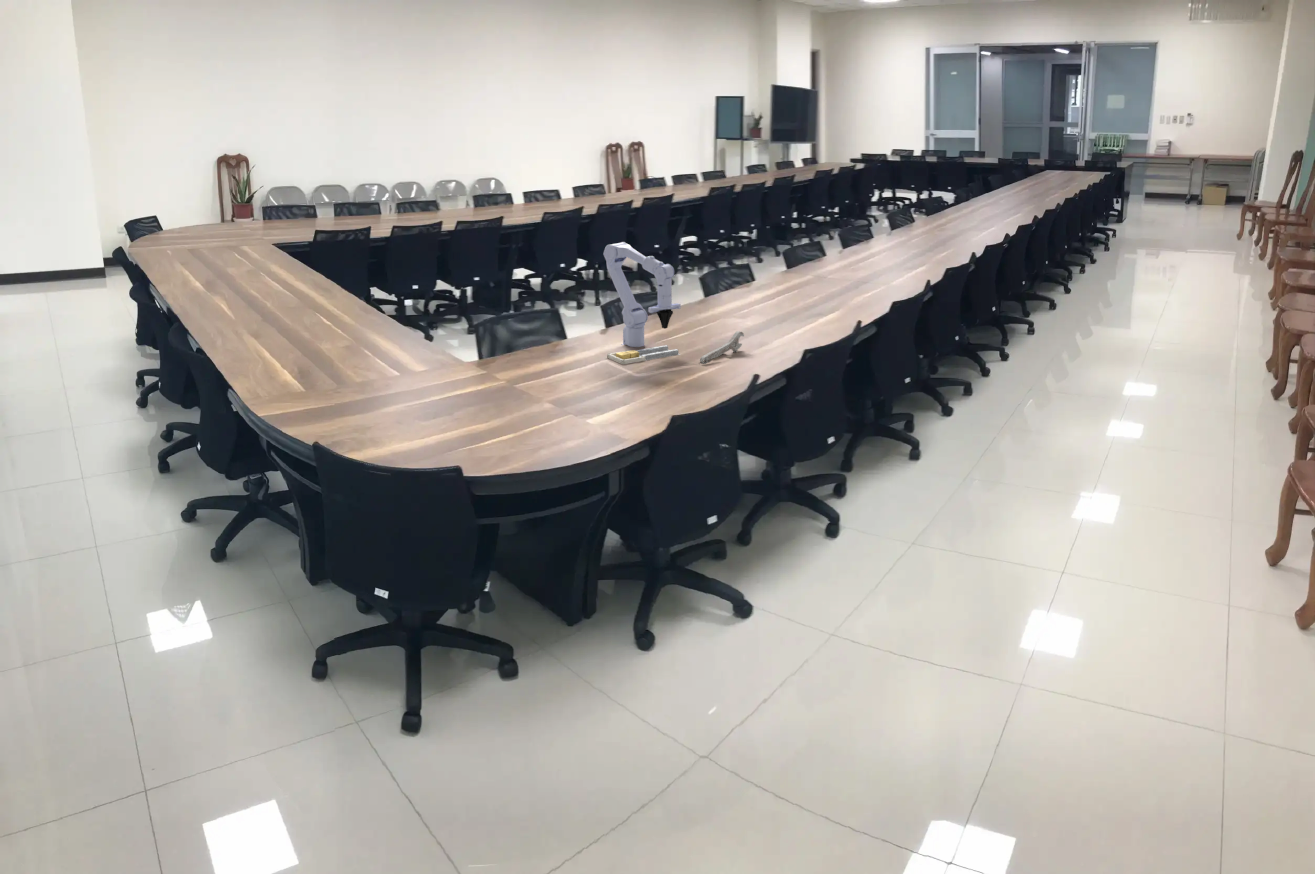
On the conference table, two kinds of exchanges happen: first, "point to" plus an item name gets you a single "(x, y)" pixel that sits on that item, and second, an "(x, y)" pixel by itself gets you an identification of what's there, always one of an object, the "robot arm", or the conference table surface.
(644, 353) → the slot board
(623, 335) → the robot arm
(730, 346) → the wrench
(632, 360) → the grey rectangular frame
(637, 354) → the chip
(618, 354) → the chip
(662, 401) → the conference table surface
